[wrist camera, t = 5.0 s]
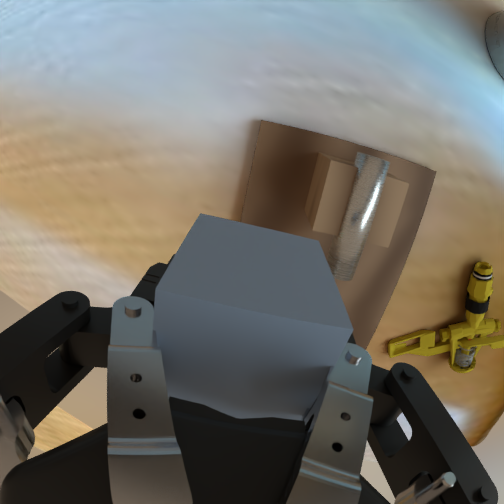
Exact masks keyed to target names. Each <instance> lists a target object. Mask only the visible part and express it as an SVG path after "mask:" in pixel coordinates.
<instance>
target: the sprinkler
mask: <svg viewBox="0 0 504 504" xmlns="http://www.w3.org/2000/svg"><path fill="white" fill-rule="evenodd" d="M492 272H493V270H492V265H491V266H489V263H487V262H478V263H476V264H475V267H474V268H473V272H472V273H471V276H470V281H469V285H468V287H467V290H468V294H467V298H466V304H465V308H466V318H467V321H465V322H461V323H457V324H453V325H449V326H447V328H445V329H440V331H439V335H440V340H441V341H440V342H437V343H435V331H431V330H420V331H417V332H414V333H411V334H408V335H404V336H401V337H398V338H395V339H392V340H390V341H389V343H388V354H389V357H390V358H392V357H395V356H399V355H402V354H406V353H409V354H416V355H422V356H431V355H436V354H440V353H444V352H448V351H450V353H451V356H450V357H449V360H448V362H449V365H450V368H452V369H453V370H454V371H456V372H459V373H467V372H470V371H471V370H473V369H474V367H475V364H476V360H475V356H476V354H477V353H478V351H479V349H480V348H481V346H485V345H490V347H491V348H492V349H495V348H504V335H499V336H494V337H486V336H487V334H492V333H493V332H498V331H499V330H500V328H501V322H500V321H499V320H498V319H494V320H493V318H489V319H483V318H484V314H485V312H486V311H487V310H488V305H489V300H490V295H491V294H492V292H493V288H492V287H491V286H492V282H493V276H492ZM475 334H480V335H479V336H478V338H477V337H476V336H475ZM417 337H420V343H417V344H413V345H410V346H406V343H401V342H404V341H407V340H410V339H414V338H417ZM397 343H401V344H397ZM395 344H397V345H395ZM474 346H475V347H474ZM471 347H472V348H473V349H472V348H471ZM470 348H471V349H470ZM471 351H472V352H471Z"/></svg>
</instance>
